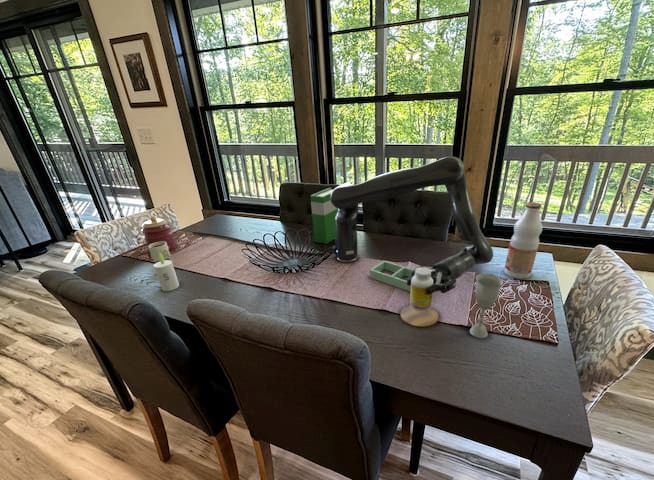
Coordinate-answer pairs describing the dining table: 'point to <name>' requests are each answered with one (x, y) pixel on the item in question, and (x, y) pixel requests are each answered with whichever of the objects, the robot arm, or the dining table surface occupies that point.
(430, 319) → the coaster
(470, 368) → the dining table surface
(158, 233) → the kitchen canister
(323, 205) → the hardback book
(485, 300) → the chalice
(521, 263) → the fruit juice
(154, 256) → the character mug
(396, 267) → the holder
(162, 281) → the candle
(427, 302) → the supplement bottle
